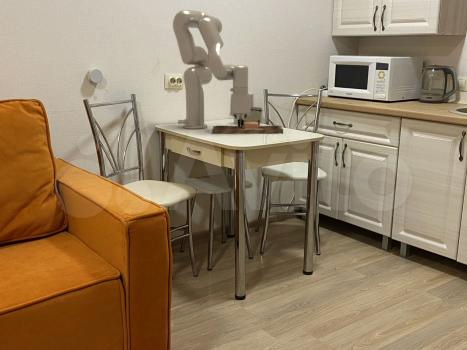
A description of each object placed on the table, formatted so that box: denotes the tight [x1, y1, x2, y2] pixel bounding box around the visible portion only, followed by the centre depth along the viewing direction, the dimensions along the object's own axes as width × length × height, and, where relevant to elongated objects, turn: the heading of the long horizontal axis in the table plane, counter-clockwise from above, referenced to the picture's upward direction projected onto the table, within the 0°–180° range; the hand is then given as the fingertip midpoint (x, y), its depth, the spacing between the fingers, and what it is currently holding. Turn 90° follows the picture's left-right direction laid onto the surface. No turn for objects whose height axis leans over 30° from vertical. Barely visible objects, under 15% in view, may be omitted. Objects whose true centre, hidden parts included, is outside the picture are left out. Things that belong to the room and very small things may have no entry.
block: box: [244, 122, 259, 129], centre depth 262 cm, size 7×7×4 cm
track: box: [211, 125, 284, 135], centre depth 261 cm, size 35×12×2 cm, turn 90°
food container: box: [241, 106, 263, 126], centre depth 279 cm, size 12×6×10 cm, turn 84°
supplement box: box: [233, 92, 255, 126], centre depth 287 cm, size 10×9×17 cm
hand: (240, 127), depth 261 cm, fingers closed
